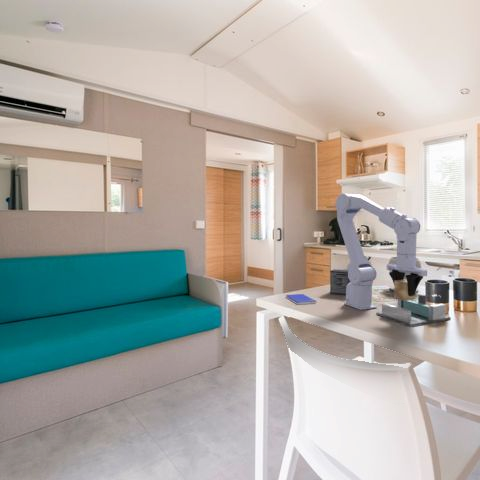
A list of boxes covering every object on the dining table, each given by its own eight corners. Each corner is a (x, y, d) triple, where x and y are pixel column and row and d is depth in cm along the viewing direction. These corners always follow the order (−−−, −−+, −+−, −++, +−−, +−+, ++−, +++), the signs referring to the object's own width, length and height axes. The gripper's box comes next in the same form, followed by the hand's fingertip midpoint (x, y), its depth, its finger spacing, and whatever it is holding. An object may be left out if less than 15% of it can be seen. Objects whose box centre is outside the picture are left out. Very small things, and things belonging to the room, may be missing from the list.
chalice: (401, 294, 144) (402, 260, 143) (380, 287, 158) (381, 257, 157) (427, 292, 148) (429, 259, 147) (405, 286, 161) (406, 256, 160)
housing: (394, 297, 112) (394, 280, 111) (403, 296, 113) (404, 279, 113) (405, 300, 108) (405, 283, 107) (415, 299, 109) (415, 281, 109)
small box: (357, 293, 147) (357, 270, 146) (353, 296, 142) (354, 272, 141) (333, 290, 153) (334, 268, 152) (329, 293, 147) (329, 270, 147)
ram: (403, 309, 118) (403, 293, 117) (411, 308, 119) (412, 292, 119) (428, 317, 108) (428, 299, 108) (437, 315, 110) (438, 298, 110)
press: (376, 314, 116) (376, 299, 115) (414, 308, 123) (414, 294, 122) (410, 326, 103) (410, 310, 102) (450, 319, 110) (451, 303, 109)
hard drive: (316, 300, 131) (303, 293, 143) (297, 302, 129) (286, 294, 141) (316, 304, 131) (303, 297, 143) (297, 305, 129) (286, 298, 141)
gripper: (380, 252, 115) (379, 290, 116) (416, 257, 101) (415, 300, 102) (395, 251, 117) (394, 288, 118) (432, 256, 104) (431, 297, 105)
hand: (405, 294), depth 111 cm, fingers closed on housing, 4 cm apart
